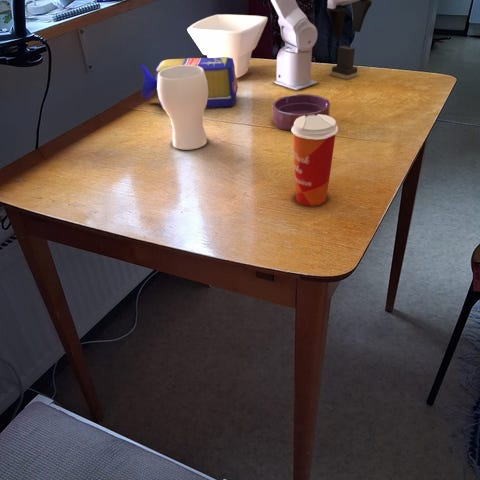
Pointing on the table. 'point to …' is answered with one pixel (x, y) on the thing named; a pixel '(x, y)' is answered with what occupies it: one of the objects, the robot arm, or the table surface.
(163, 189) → the table surface
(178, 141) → the cup
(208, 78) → the bread
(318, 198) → the paper cup
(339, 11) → the robot arm
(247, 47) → the bowl
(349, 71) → the brush
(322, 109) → the plum bowl
